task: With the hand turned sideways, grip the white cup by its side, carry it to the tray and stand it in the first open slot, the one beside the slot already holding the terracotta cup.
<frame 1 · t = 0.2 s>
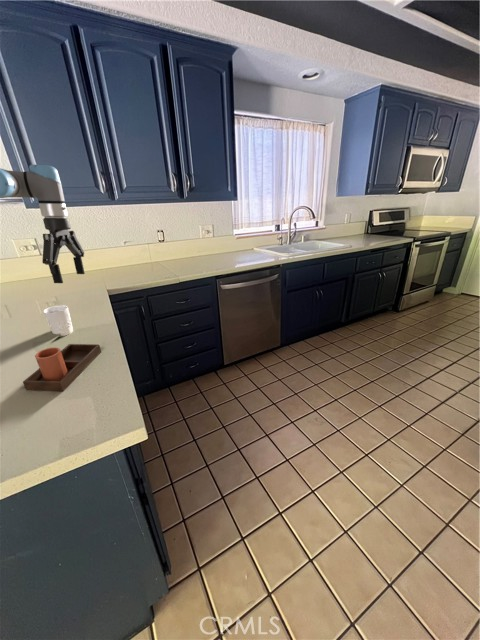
hand: (70, 278, 99), 21 cm above the worktop, tool pointing down, fingers open, 13 cm apart
terracotta cup: (57, 379, 77), resting on tray
tray: (68, 369, 81), on the worktop
white cup: (63, 333, 103), on the worktop
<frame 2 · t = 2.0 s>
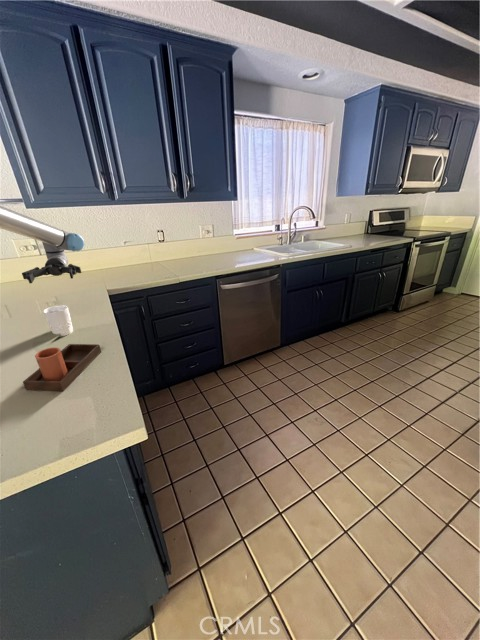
hand: (50, 277, 103), 20 cm above the worktop, tool horizontal, fingers open, 13 cm apart
nothing on the worktop moved.
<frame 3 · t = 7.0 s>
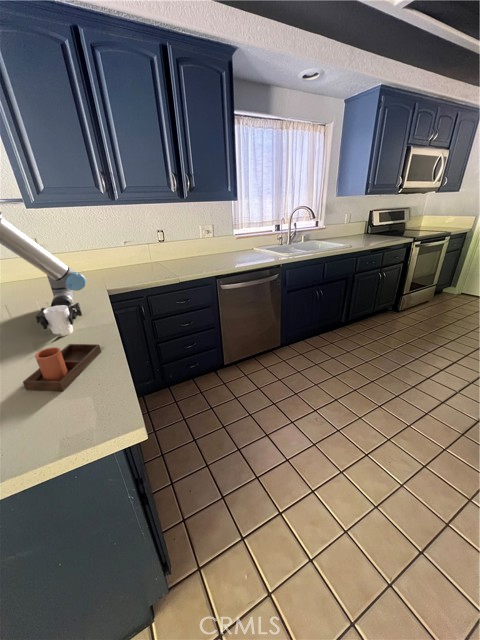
hand: (57, 323, 97), 6 cm above the worktop, tool horizontal, fingers closed on white cup, 8 cm apart
white cup: (63, 333, 103), on the worktop, touching gripper
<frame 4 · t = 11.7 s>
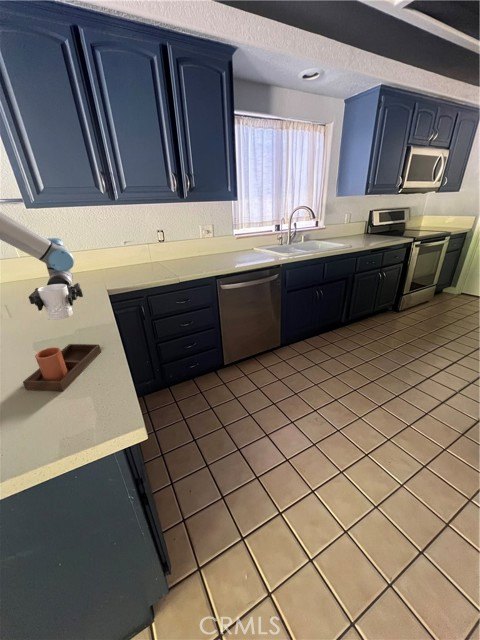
hand: (54, 304, 82), 18 cm above the worktop, tool horizontal, fingers closed on white cup, 8 cm apart
white cup: (61, 316, 89), point 12 cm above the worktop, touching gripper
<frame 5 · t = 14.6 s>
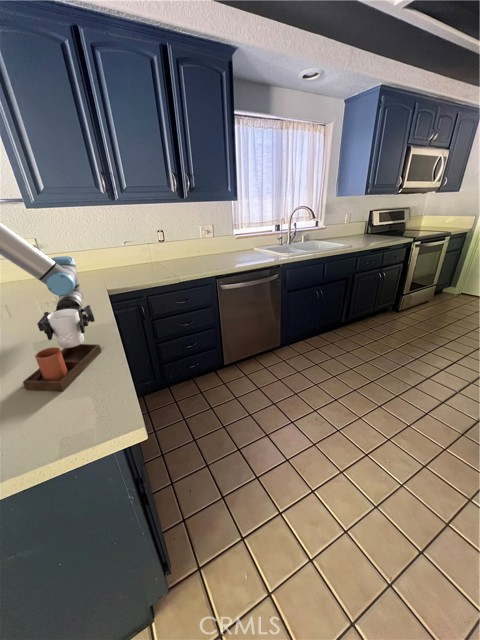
hand: (65, 332, 77), 12 cm above the worktop, tool horizontal, fingers closed on white cup, 8 cm apart
white cup: (72, 343, 83), point 6 cm above the worktop, touching gripper
when the fingers open (6 cm above the worktop, at t = 16.7 s): white cup stays where it is, resting on tray.
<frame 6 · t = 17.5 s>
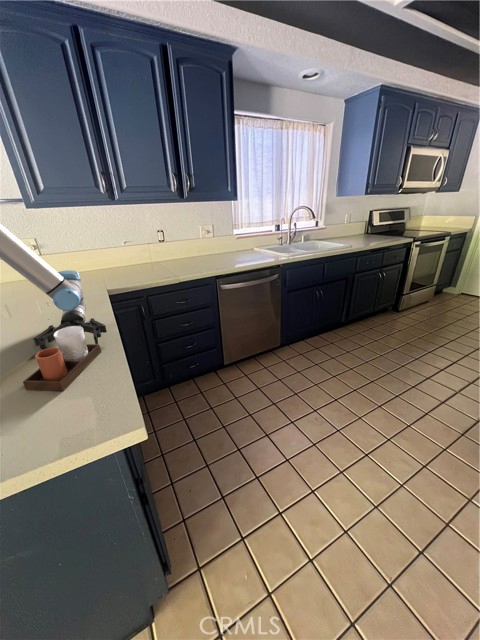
hand: (70, 345, 80), 7 cm above the worktop, tool horizontal, fingers open, 13 cm apart
white cup: (77, 359, 86), resting on tray
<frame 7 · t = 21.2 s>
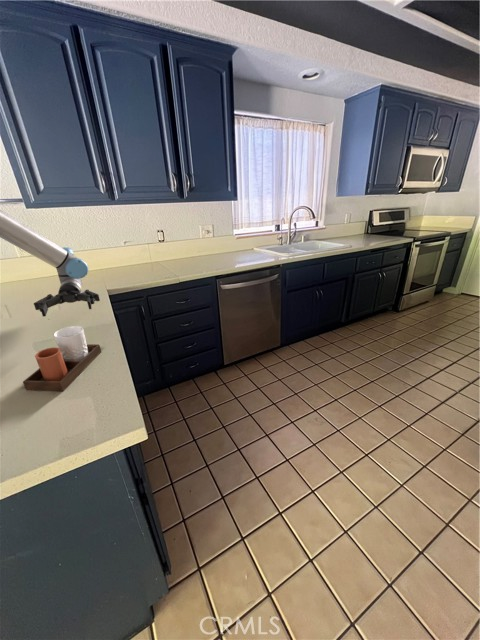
hand: (66, 309, 90), 13 cm above the worktop, tool horizontal, fingers open, 13 cm apart
nothing on the worktop moved.
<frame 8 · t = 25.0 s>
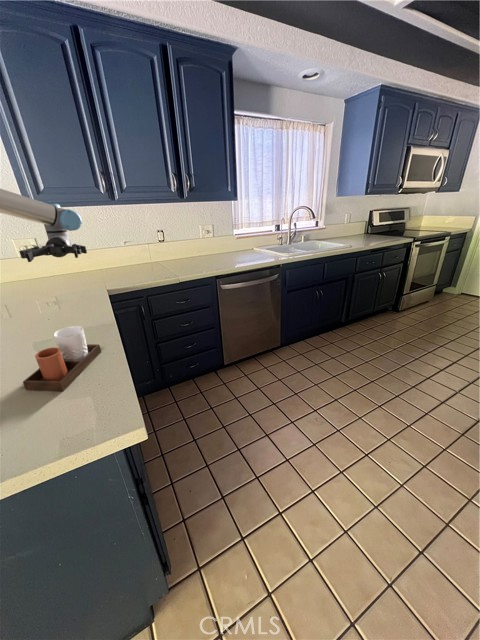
hand: (52, 255, 89), 30 cm above the worktop, tool horizontal, fingers open, 13 cm apart
nothing on the worktop moved.
at the end: white cup 0.0 cm from the target spot in the tray, point 0.3 cm above the tray's base; white cup tilted 0°; the gripper is holding nothing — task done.
